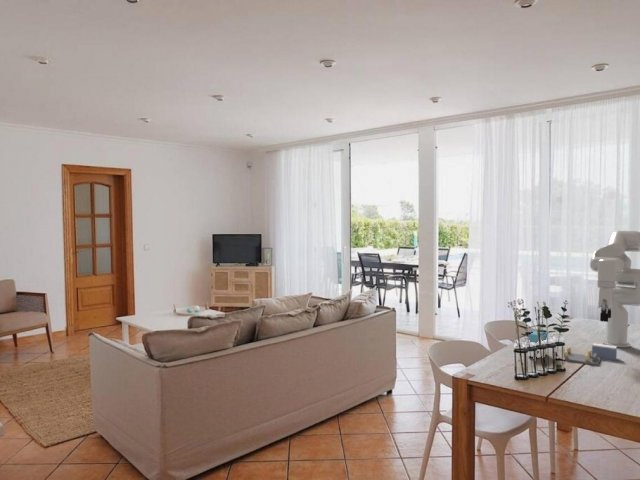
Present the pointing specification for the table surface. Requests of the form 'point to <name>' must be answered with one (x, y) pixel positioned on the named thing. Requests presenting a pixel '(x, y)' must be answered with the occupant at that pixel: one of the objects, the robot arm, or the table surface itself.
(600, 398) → the table surface
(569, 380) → the table surface
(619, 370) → the table surface
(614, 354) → the block
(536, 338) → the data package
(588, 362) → the tray
